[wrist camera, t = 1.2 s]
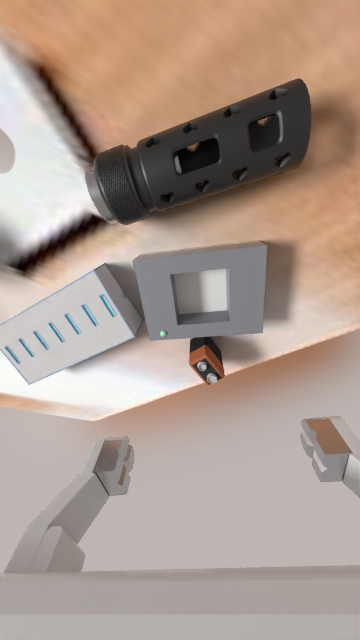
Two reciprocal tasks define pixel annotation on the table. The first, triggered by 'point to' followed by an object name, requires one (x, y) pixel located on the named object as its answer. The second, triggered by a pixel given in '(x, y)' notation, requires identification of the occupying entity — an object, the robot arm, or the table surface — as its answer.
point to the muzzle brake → (203, 155)
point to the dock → (203, 290)
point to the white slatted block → (69, 326)
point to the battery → (206, 359)
